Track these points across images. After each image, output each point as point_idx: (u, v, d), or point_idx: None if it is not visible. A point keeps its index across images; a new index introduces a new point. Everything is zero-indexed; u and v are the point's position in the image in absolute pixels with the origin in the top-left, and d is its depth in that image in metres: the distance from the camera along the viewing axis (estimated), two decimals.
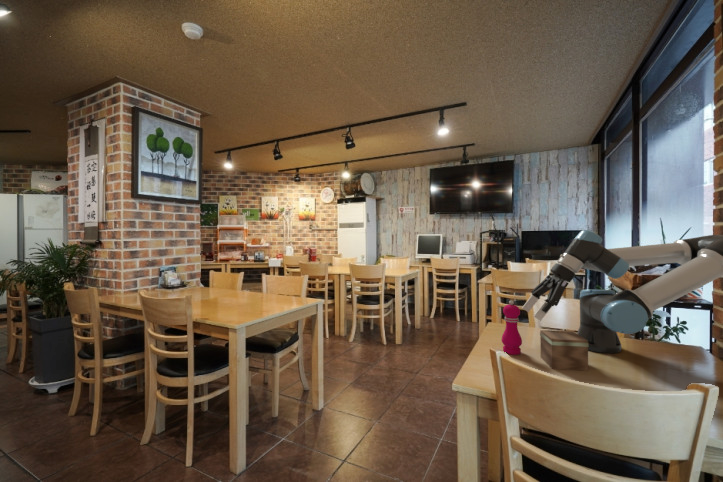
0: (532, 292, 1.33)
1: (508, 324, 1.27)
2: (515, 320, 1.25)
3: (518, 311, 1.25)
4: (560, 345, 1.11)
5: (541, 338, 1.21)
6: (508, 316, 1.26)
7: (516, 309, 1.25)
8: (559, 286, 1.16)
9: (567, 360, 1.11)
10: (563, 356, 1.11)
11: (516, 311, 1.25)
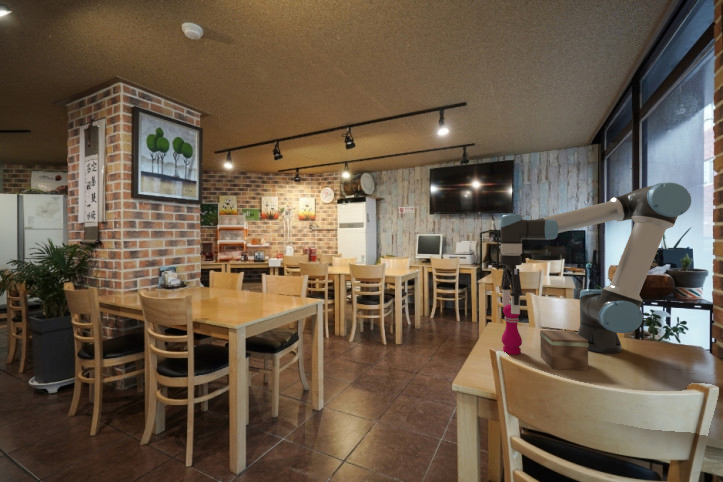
0: (502, 286, 1.37)
1: (508, 324, 1.27)
2: (515, 320, 1.25)
3: None
4: (560, 345, 1.11)
5: (541, 338, 1.21)
6: (508, 316, 1.26)
7: None
8: (513, 276, 1.21)
9: (567, 360, 1.11)
10: (563, 356, 1.11)
11: None
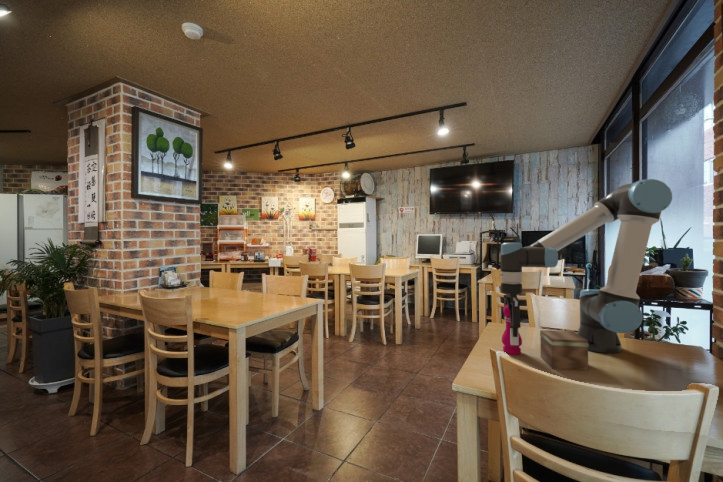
0: (504, 318, 1.34)
1: (508, 324, 1.27)
2: None
3: None
4: (560, 345, 1.11)
5: (541, 338, 1.21)
6: (508, 316, 1.26)
7: None
8: (513, 308, 1.22)
9: (567, 360, 1.11)
10: (563, 356, 1.11)
11: None
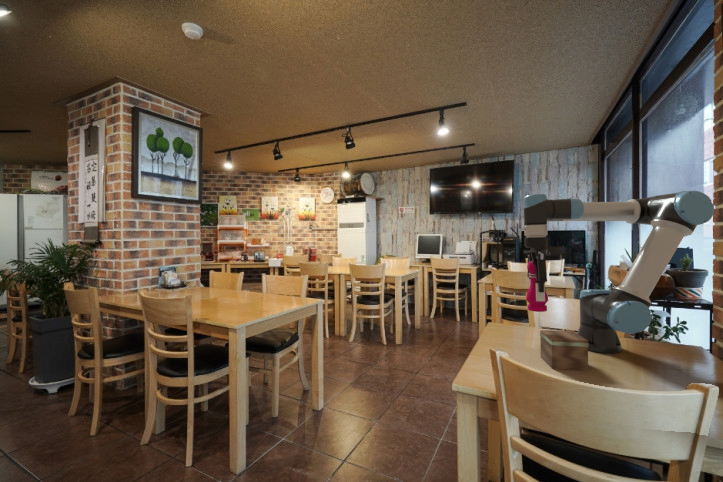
0: (528, 276, 1.28)
1: (533, 280, 1.21)
2: None
3: None
4: (560, 345, 1.11)
5: (541, 338, 1.21)
6: (533, 272, 1.20)
7: None
8: (539, 262, 1.15)
9: (567, 360, 1.11)
10: (563, 356, 1.11)
11: None
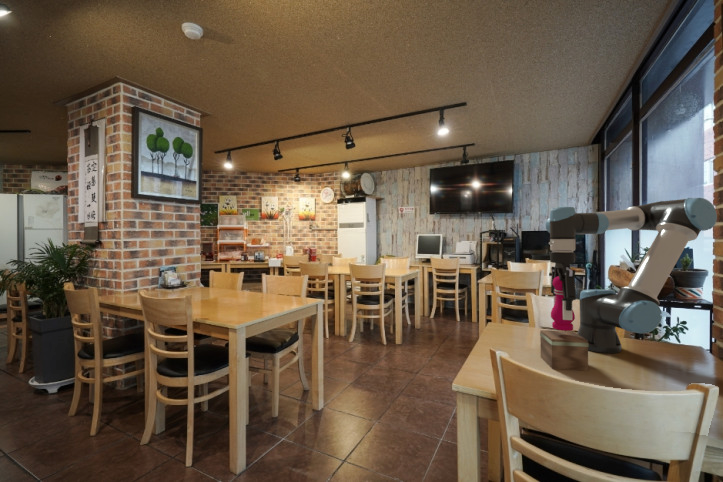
0: (552, 292, 1.22)
1: (559, 297, 1.15)
2: None
3: None
4: (560, 345, 1.11)
5: (541, 338, 1.21)
6: (559, 288, 1.14)
7: None
8: (568, 279, 1.09)
9: (567, 360, 1.11)
10: (563, 356, 1.11)
11: None
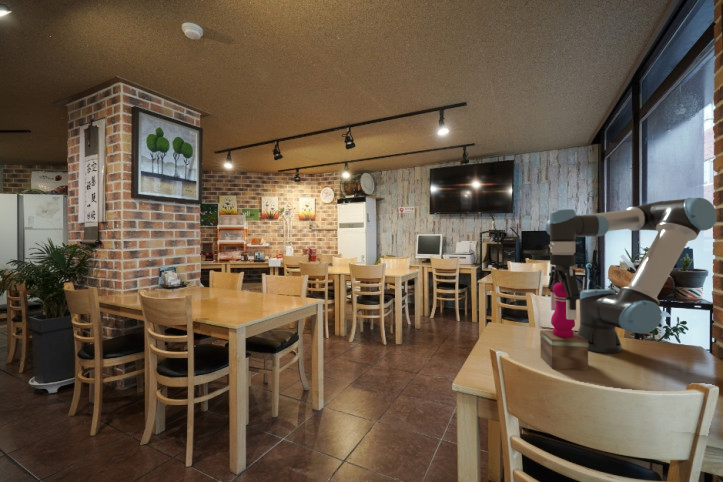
0: None
1: (559, 304, 1.15)
2: None
3: None
4: (560, 345, 1.11)
5: (541, 338, 1.21)
6: (559, 295, 1.14)
7: None
8: (569, 278, 1.09)
9: (567, 360, 1.11)
10: (563, 356, 1.11)
11: None
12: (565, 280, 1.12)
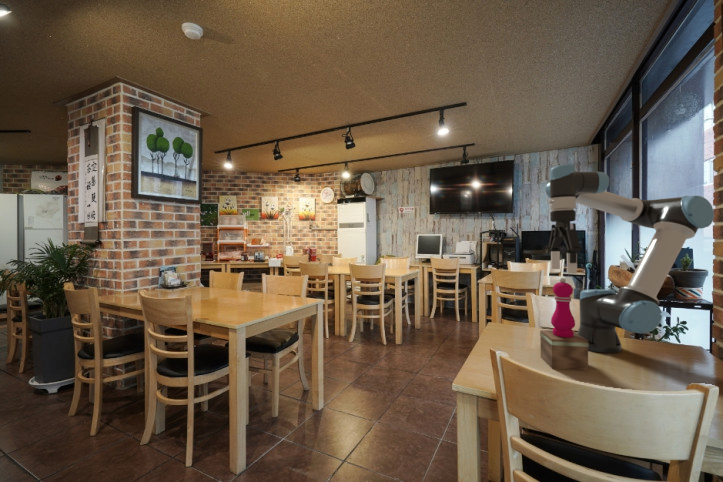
0: (549, 248, 1.25)
1: (559, 304, 1.15)
2: (568, 299, 1.13)
3: (571, 289, 1.13)
4: (560, 345, 1.11)
5: (541, 338, 1.21)
6: (560, 295, 1.14)
7: (569, 287, 1.13)
8: (569, 231, 1.08)
9: (567, 360, 1.11)
10: (563, 356, 1.11)
11: (569, 289, 1.13)
12: (565, 235, 1.12)
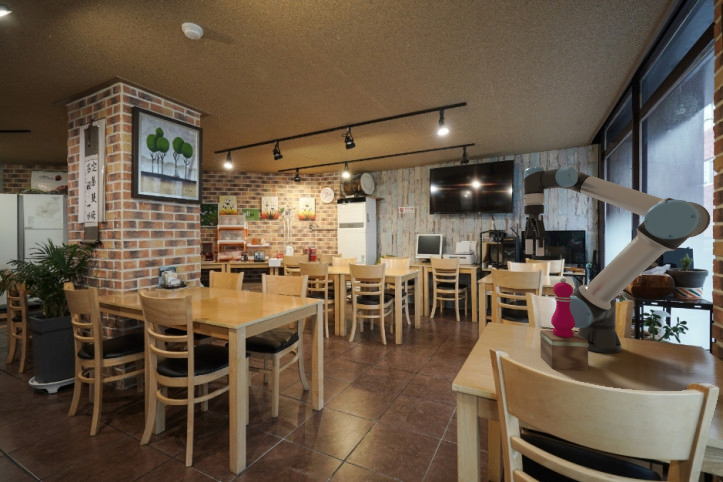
0: (525, 237, 1.49)
1: (560, 304, 1.15)
2: (568, 299, 1.13)
3: (571, 289, 1.13)
4: (560, 345, 1.11)
5: (541, 338, 1.21)
6: (560, 295, 1.14)
7: (569, 287, 1.13)
8: (538, 221, 1.33)
9: (567, 360, 1.11)
10: (563, 356, 1.11)
11: (569, 289, 1.13)
12: (535, 225, 1.36)
